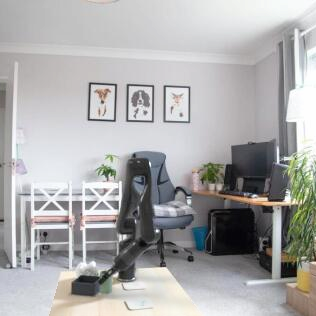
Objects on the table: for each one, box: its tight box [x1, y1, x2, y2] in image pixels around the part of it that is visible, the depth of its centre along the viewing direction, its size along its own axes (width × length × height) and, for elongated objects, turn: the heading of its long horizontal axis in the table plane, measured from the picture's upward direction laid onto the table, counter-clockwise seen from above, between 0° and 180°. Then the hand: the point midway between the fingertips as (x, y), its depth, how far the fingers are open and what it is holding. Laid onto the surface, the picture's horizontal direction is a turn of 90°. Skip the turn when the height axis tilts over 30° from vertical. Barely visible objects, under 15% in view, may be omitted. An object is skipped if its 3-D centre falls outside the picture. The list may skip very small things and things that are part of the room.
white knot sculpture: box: [75, 260, 100, 278], centre depth 186 cm, size 11×12×9 cm
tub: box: [70, 275, 100, 297], centre depth 169 cm, size 12×12×6 cm
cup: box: [98, 269, 114, 295], centre depth 163 cm, size 6×6×9 cm
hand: (102, 280), depth 163 cm, fingers closed on cup, 6 cm apart
